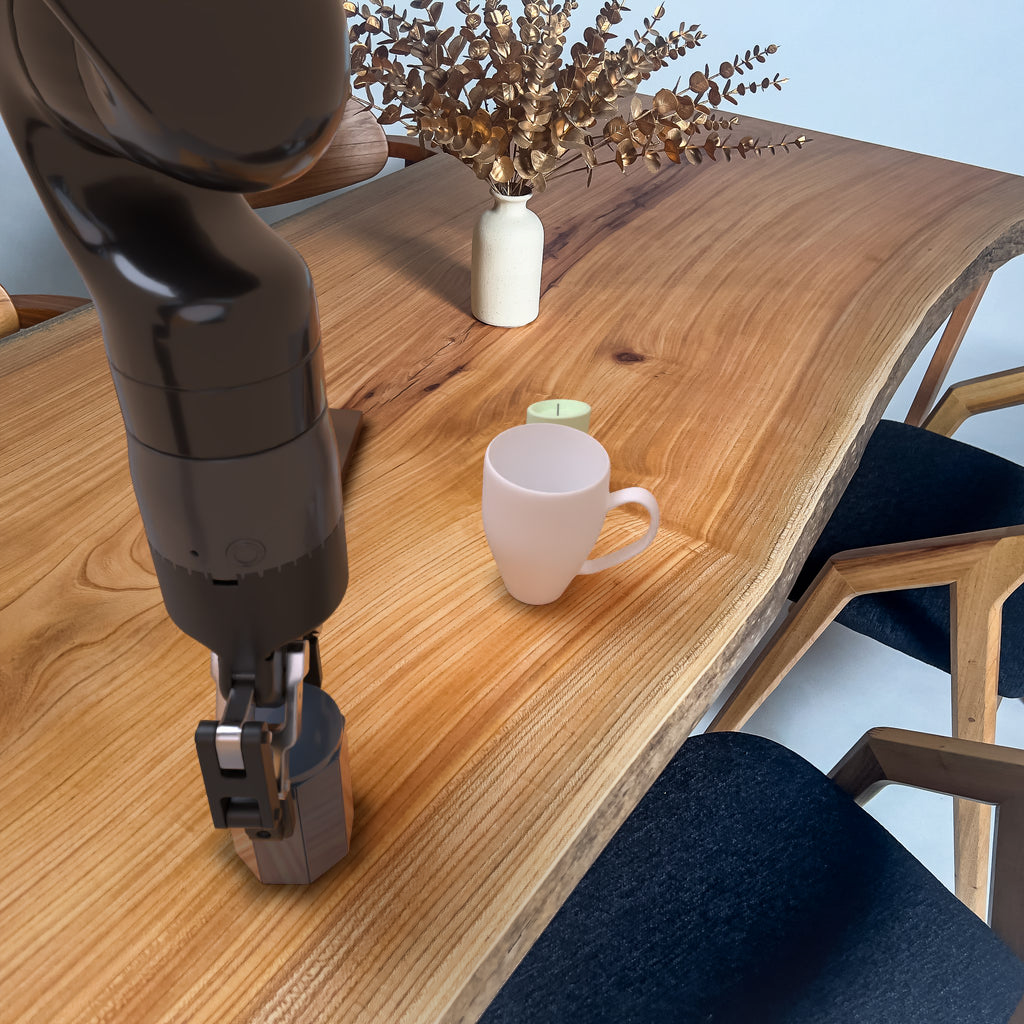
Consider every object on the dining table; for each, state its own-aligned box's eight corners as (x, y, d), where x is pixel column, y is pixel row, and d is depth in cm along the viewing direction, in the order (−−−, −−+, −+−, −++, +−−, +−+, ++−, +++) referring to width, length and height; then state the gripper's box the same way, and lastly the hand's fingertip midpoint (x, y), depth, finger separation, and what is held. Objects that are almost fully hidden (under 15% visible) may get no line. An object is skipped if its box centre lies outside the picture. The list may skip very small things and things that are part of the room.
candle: (512, 472, 77) (518, 388, 71) (567, 463, 78) (576, 380, 73) (533, 507, 73) (542, 421, 68) (590, 497, 74) (602, 412, 69)
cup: (281, 907, 46) (261, 804, 40) (217, 830, 49) (190, 725, 43) (374, 833, 50) (367, 729, 44) (308, 766, 53) (294, 661, 47)
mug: (464, 611, 63) (469, 480, 56) (494, 538, 70) (502, 412, 62) (634, 648, 61) (661, 518, 54) (648, 569, 68) (675, 443, 61)
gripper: (193, 400, 41) (242, 647, 51) (81, 635, 29) (173, 889, 40) (362, 406, 41) (377, 650, 51) (313, 640, 30) (345, 891, 40)
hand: (288, 754), depth 45 cm, fingers open, 8 cm apart
